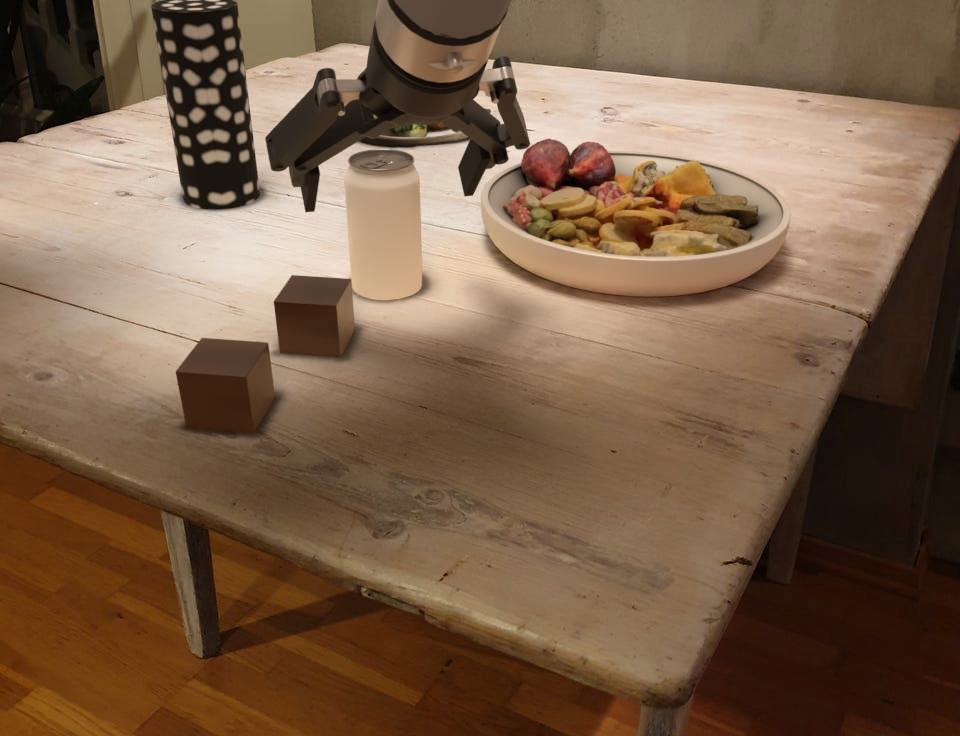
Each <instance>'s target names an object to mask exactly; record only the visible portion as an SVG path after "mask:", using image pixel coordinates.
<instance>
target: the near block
mask: <svg viewBox="0 0 960 736" xmlns="http://www.w3.org/2000/svg"><path fill="white" fill-rule="evenodd" d="M269 346H270V345H269V342H267V341H252V340H239V339H227V338H226V339H224V338H210V337H201V339H200V340H199V341H198V342H197V344H196V345H194V347H193V348H192V350H191V351H190V352H189V353H188V355H187V356H186V357H185V358H184V360H183V361H182V363H181V364H180V365H179V366H178V368H177V369H176V370H175V375H176V376H175V377H176V381H177V387H178V392H179V396H180V402H181V408H182V413H183V418H184V423H185V427H186V429H198V430H209V431H223V432H233V433H234V432H235V433H246V434H247V433H248V434H255V433H256V431H257V430H258V428H259V426H260V424H261V423H262V421H263V419H264V417H265V415H266V414H267V412H268V410H269V409H270V407H271V405H272V404H273V402H274V401H275V399H276V392H275V385H274V375H273V369H272V362H271V354H270V353H271V352H270V347H269Z"/></svg>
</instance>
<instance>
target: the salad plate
mask: <svg viewBox="0 0 960 736" xmlns="http://www.w3.org/2000/svg"><path fill="white" fill-rule="evenodd" d="M483 108H484V107H483ZM484 109H485V110H487V111H488V112H489V113H490V114H491V112H492V109H491V108H484ZM373 115H374V114H373ZM375 119H377V117H376V116H375V115H374V120H375ZM445 130H451V129H450V128H448V127H447V126H446V125H444V124H443V123H442V122H440V123H438V122H435V123H434V124H431V125H416V124H413V125H408V126H404V127H393V128H391V129H390V130H388V131H387V132H385V133H383V134H382V135H380V136H378V137H377V138H375V139H371V138H369V137H365V138H363V139H361V140H360V141H361V142H363V143H366V144H369V145H373V146H379V147H380V146H381V147H414V146H426V145H437V144H443V143H449V142H456V141H463V140H465V139H469V137H468V136H466V135H465V134H464V133H462V132H461V131H460V130H459V131H457V132H454V133H450V134H449V133H448V134H442V135H434V136H426V135H427V134H429V133H432V132H437V131H439V132H441V131H445Z"/></svg>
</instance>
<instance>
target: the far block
mask: <svg viewBox="0 0 960 736" xmlns="http://www.w3.org/2000/svg"><path fill="white" fill-rule="evenodd" d="M273 308H274V314H275V315H274V317H275V324H276V333H277V341H278V347H279V348H278V349H279V350H278V351H279V354H282V355H283V354H286V355H299V356H312V357H326V358H337V359H338V358H339V359H340V358H342V355H343V353H344V351H345V350H346V347H347V346H348V344H349V342H350V340H351V337H352V336H353V333H354V332H355V329H356V324H355V311H354V310H355V309H354V297H353V288H352V281H351V278H345V277H344V278H343V277H329V276H311V275H298V274H296V275H295V274H291V276H290V277H289V278H288V280H287V281H286V283H285V284H284V286H283V287H282V289H280V291H279V293H278V294H277V296H276V298H274V300H273Z"/></svg>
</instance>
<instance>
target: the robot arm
mask: <svg viewBox="0 0 960 736" xmlns="http://www.w3.org/2000/svg"><path fill="white" fill-rule="evenodd" d="M511 2H512V0H378V2H377V6H376V11H375V18H374V23H373V28H372V33H371V39H370V43H369V48H368V52H367V53H368V54H367V60H366V66H365V68H364V70H362V72H361V73H359V74H358V76H357V78H356V79H355V78H354V79H352V78H351V79H345V78H344V79H340V78H339V79H337V76H336V75H337V74H336V71H335V70H334V68H331V67H324V68H320V69H319V70H318V71H317V72H316V74H315V79H314V81H313V85H312V87H311V89H309V90H308V91H307V93H305V94H304V96H302V98H300V100H299V101H298V102H297V103H296V104H295V105H294V106H293V107H292V109H291V110H289V111H288V113H286V115H285V116H284V117H283V118H281V120H280V121H279V122H278V123H277V124H276V125H275V126H274V127H273V128H272V130H271V131H269V132H268V134H267V135H265V138H264V139H265V146H266V151H267V157H268V161H269V165H270V170H271V171H272V172H277V173H279V172H283V171H286V170H287V169H288V172H289V173H288V174H289V177H290V182H291V185H292V187H293V188H300V191H301V192H300V193H301V198H302V201H303V207H304V211H305V213H313V212H314V213H315V211H316V206H317V205H316V204H317V199H318V192H319V184H320V177H321V171H320V167H319V166H321V165H322V164H323V163H325V162H327V161H328V160H330V159H332V158H333V157H335V156H337V155H338V154H340V153H342V152H343V151H345V150H347V149H348V148H349V147H352V146H353V145H355V144H357V143H359V142H360V141H361V139H363V138H365V137H369V138H371V139H375V138H377V137H378V136H380V135H382V134H383V133H385V132H387V131H388V130H390V129H391V128H393V127H404V126H408V125H413V124H416V125H431V124H434V123H435V122H438V123H440V122H442V123H443V124H444V125H446V126H447V127H448V128H450V129H449V130H451V131H453V132H454V133H456V132H457V131H459V130H460V131H461V132H462V133H464V134H465V135H466V136H468V139H469V141H468V143H467V145H466V147H465V150H464V152H463V154H462V157H461V159H460V161H459V164H458V166H457V169H458V174H459V179H460V182H461V187H462V191H463V192H462V193H463V196H464V197H473V196H474V194H475V192H476V190H477V188H478V186H479V184H480V182H481V181H482V178H483V176H484V174H485V172H486V170H490V169H491V170H492V169H493V168H494V167H495V166H496V165H504V164H506V163H507V162H508V161H509V154H508V150H507V149H508V148H510V147H513V146H514V148H515V149H516V150H518V151H519V150H527V149H528V148H529V147H531V141H530V137H529V132H528V129H527V125H526V120H525V116H524V112H523V111H522V108H521V107H520V103H519V101H518V97H517V94H518V87H517V83H516V79H515V78H516V77H515V75H514V74H515V73H514V70H513V66H512V62H511V58H510V57H509V56H500V57H497V58H495V60H494V61H493V63H492V67H491V68H488V69H486V68H487V64H488V62H489V57H490V55H491V53H492V51H493V48H494V45H495V43H496V40H497V38H498V35H499V34H500V30H501V28H502V25H503V24H504V23H503V22H504V20H505V18H506V16H507V14H508V11H509V9H510V5H511V4H512V3H511ZM479 92H483V93H484V95H485V96H486V97H490V100H491V103H492V104H493V105H495V104H496V106H497V110H498V113H499V115H500V118H501V120H502V122H503V123H501V121H500V120H499V119H497V118H496V117H495V116H494V115H493V114H491V112H490V113H489V112H488V111H487V110H485V109H486V108H485V109H484V107H483V106H482V105H481V104H480V103H478V102H477V101H476V100H474V99H475V98H477V96H478V94H479ZM373 114H374V115H375V116H376V117H377V119H375V120H374V115H373Z"/></svg>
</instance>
